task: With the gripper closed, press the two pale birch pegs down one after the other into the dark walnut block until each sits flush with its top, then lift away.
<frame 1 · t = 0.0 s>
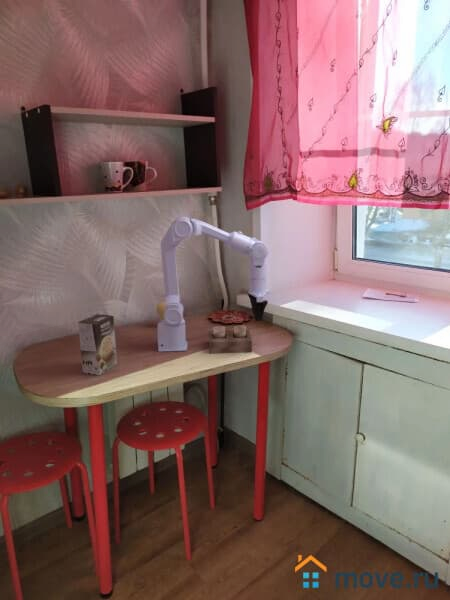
hand: (257, 317, 157), 10 cm above the table, tool pointing down, fingers open, 7 cm apart
right peg: (239, 332, 157), point 5 cm above the table, slide at 3.0 cm
left peg: (219, 332, 157), point 5 cm above the table, slide at 3.0 cm
light bulb: (165, 327, 179), on the table
coffee box: (100, 369, 142), on the table
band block: (229, 346, 158), on the table
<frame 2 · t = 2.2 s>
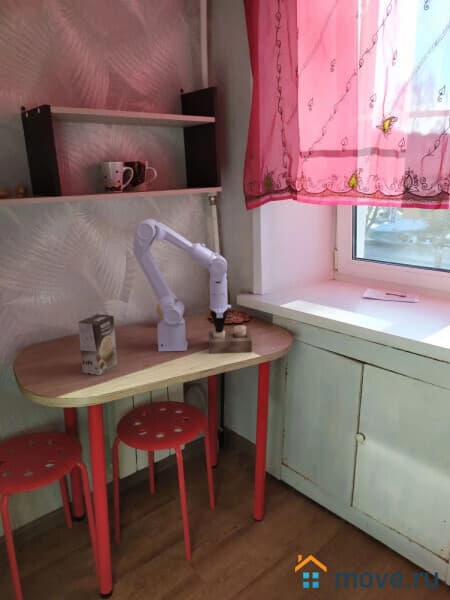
hand: (219, 331, 157), 5 cm above the table, tool pointing down, fingers closed, pressing on left peg
left peg: (219, 336, 157), point 4 cm above the table, slide at 1.5 cm, touching gripper
everything else where it was.
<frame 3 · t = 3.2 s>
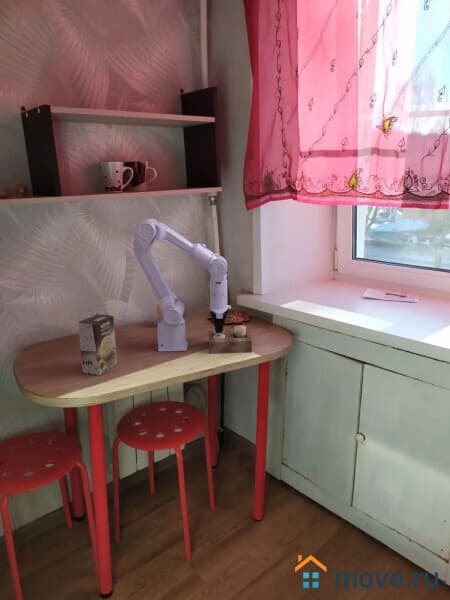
hand: (218, 332, 157), 5 cm above the table, tool pointing down, fingers closed
left peg: (219, 340, 157), point 2 cm above the table, slide at 0.1 cm
everything else where it was.
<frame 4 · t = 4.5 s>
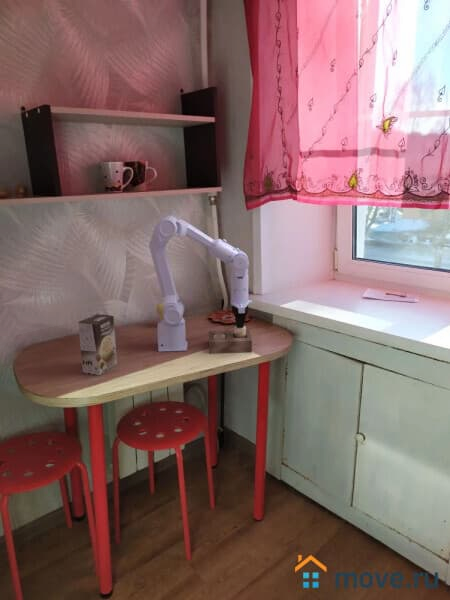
hand: (239, 327, 156), 7 cm above the table, tool pointing down, fingers closed, pressing on right peg
right peg: (239, 332, 157), point 5 cm above the table, slide at 2.9 cm, touching gripper
everything else where it was.
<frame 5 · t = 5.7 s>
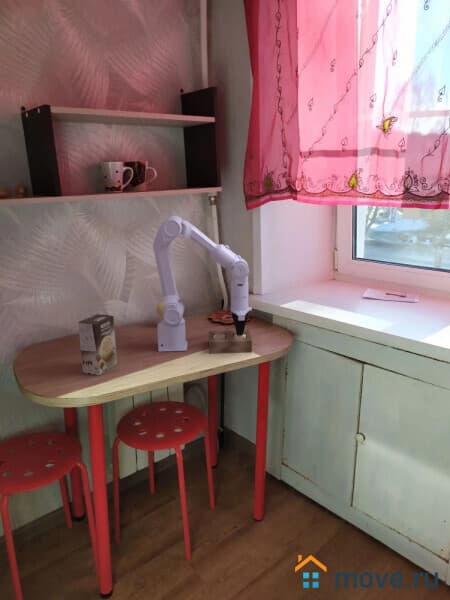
hand: (239, 334, 157), 4 cm above the table, tool pointing down, fingers closed
right peg: (239, 340, 158), point 2 cm above the table, slide at 0.1 cm
everything else where it was.
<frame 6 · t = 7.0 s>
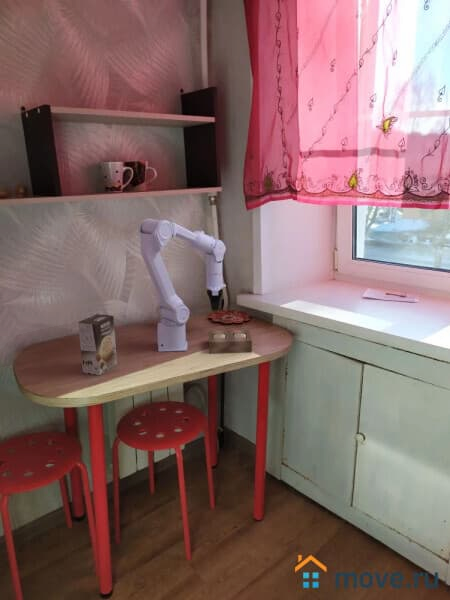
hand: (215, 309, 168), 9 cm above the table, tool pointing down, fingers closed
nothing on the table moved.
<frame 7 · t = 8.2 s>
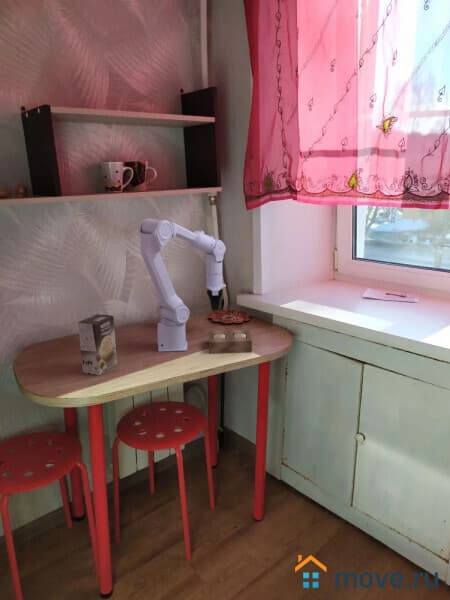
hand: (215, 309, 168), 9 cm above the table, tool pointing down, fingers closed
nothing on the table moved.
at the end: left peg slide at 0.1 cm; right peg slide at 0.1 cm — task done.
